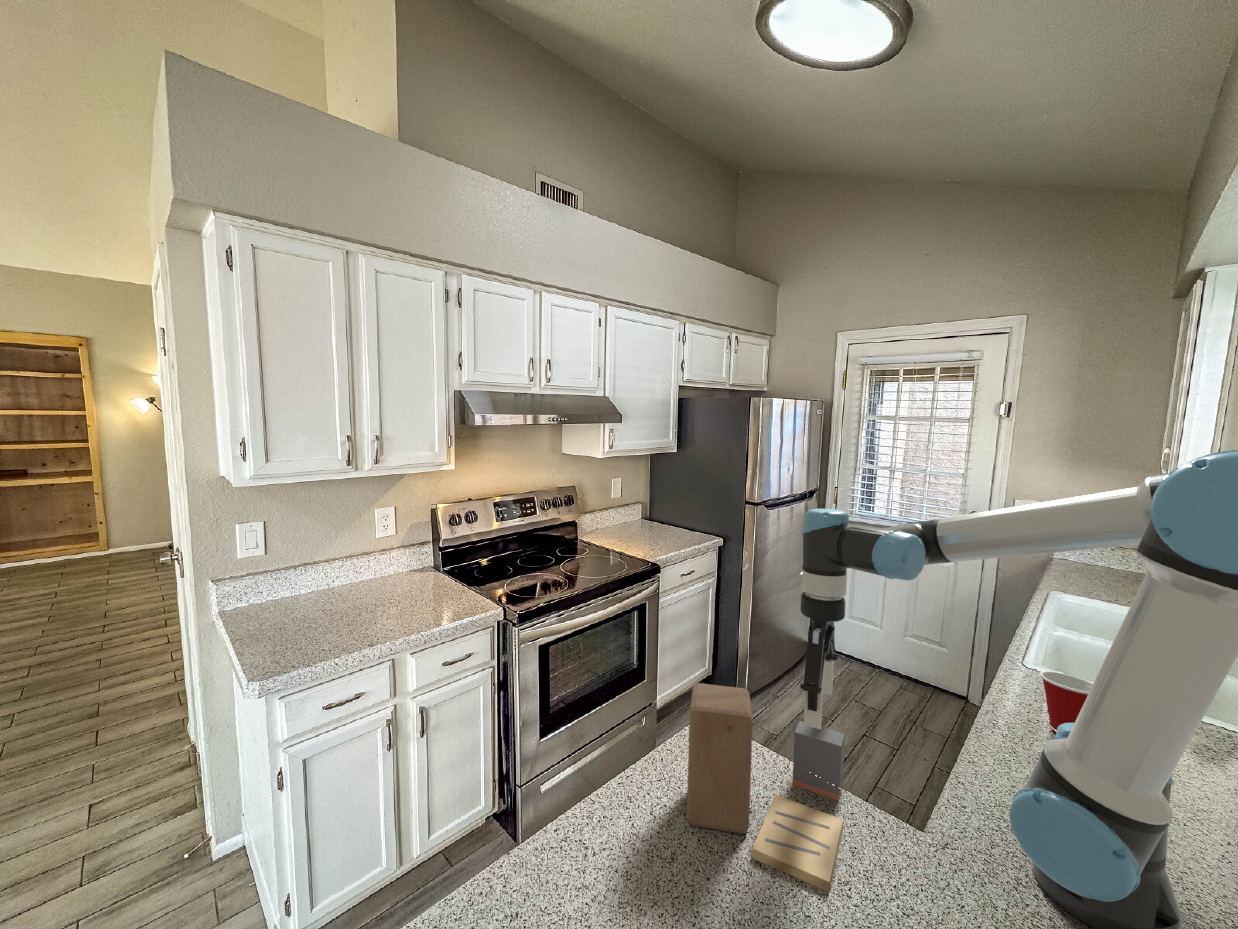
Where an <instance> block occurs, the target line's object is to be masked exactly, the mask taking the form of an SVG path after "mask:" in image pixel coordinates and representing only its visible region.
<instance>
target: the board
mask: <svg viewBox="0 0 1238 929" xmlns="http://www.w3.org/2000/svg"><path fill="white" fill-rule="evenodd" d="M843 830H844V819H843V818H839V817H838V816H835V815H832V814H828V813H827V812H824V811H822V810H818V809H816V808H813V807H810V806H809V805H808V806H807V805H804V804H802V803H800V802H796V801H794V800H791V799H789V798H786V797H783V796H780V795H778V794H775V795H774V797H773V800H772V801H771V804H770V807H769V809H768V811H767V814H766V815H765V818H764V820H763V822H762V825H761V826H760V830H759V832H758V835H757V837H756V839H755V841H754V844H753V847H752V848H751V859H754V860H756V861H758V862H759V863H762V864H764V865H766V866H769V867H771V868H774V869H775V870H778V871H781V872H783V873H785V874H786V875H789V876H792V877H795V878H797V879H799V880H801V881H803V882H806V883H807V884H809V885H812V886H814V887H816V888H818V889H821V890H823V891H826V892H828V893H830V891H831V886H832V881H833V876H834V872H835V868H836V862H837V858H838V852H839V850H840V845H841V839H842V835H843Z"/></svg>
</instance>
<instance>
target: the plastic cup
mask: <svg viewBox="0 0 1238 929" xmlns="http://www.w3.org/2000/svg"><path fill="white" fill-rule="evenodd" d="M1040 678H1041V679H1042V681H1043V686H1044V692H1045V699H1046V707H1047V714H1048V718H1049V725H1051V726H1052V727H1053V728H1054V729H1056V730H1057V728H1058V726H1059V725H1061V724H1064V723H1075V721H1076V719H1077V717H1078V715H1079V713H1080V711H1081V709H1082V707H1083V705H1084V702H1085V700H1086V698H1087V696H1088V694H1089V692H1090V690H1091V688H1092V686H1093V684H1094V682H1091V681H1089V680H1086V679H1084V678H1081V677H1078V676H1074V675H1070V674H1067V673H1062V672H1056V671H1041V672H1040ZM1051 726H1050V727H1051Z"/></svg>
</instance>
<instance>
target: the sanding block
mask: <svg viewBox="0 0 1238 929" xmlns="http://www.w3.org/2000/svg"><path fill="white" fill-rule="evenodd" d="M845 735H846V734H845V733H843V732H840V731H836V730H832V729H830V728H825V727H822V726H821V730H820V729H816V728H813V727H809V726H806V725H804V721H802V720H799V722H798V724H797V726H796V728H795V731H794V737H793V738H794V739H793V762H792V763H793V766H792V785H793V786H796V787H798V788H802V789H805V790H808V791H810V792H814V793H816V794H819V795H821V796H824V797H827V798H830V799H833V800H835V801H840V798H841V794H842V790H843V786H844V785H843V784H844V783H843V782H844V759H845V738H846V736H845ZM809 772H811V773H809ZM815 775H817V777H816V776H815ZM819 777H821V778H819ZM827 782H829V783H830V784H829V783H827ZM832 784H834V785H835V786H833V785H832ZM838 787H839V788H841V789H842V790H840V789H839V788H838Z"/></svg>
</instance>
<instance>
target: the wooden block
mask: <svg viewBox="0 0 1238 929" xmlns="http://www.w3.org/2000/svg"><path fill="white" fill-rule="evenodd" d="M692 686H693V687H692V689H691V697H690V708H689V720H688V723H689V728H688V761H687V762H688V763H687V764H688V765H687V767H688V768H687V769H688V770H687V796H686V797H687V798H686V799H687V800H686V802H687V804H686V818H687V819H686V820H687V822H688V824H690V825H691V826H694V827H700V828H705V829H712V830H719V831H724V832H731V833H737V834H742V835H743V834H747V832H748V830H749V828H750V809H751V808H750V806H751V804H750V802H751V778H752V775H751V774H752V771H751V770H752V750H753V749H752V746H753V739H752V738H753V713H752V712H753V711H752V702H751V694H750V692H749V690H748V689H746V688H744V687H743V688H742V687H737V686H736V687H735V686H726V685H717V684H710V683H709V684H707V683H699V682H697V683H694V685H692Z"/></svg>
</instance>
